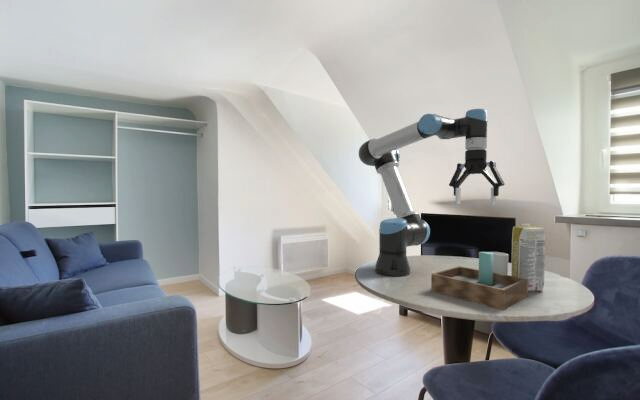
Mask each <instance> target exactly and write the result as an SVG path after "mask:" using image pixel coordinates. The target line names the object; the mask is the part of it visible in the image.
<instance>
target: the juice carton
mask: <svg viewBox="0 0 640 400" xmlns="http://www.w3.org/2000/svg"><path fill="white" fill-rule="evenodd" d="M545 230H546V229H545V228H544V227H539V226H531V224H530V223H521V226H513V227H512V235H511V236H512V237H511V268H510V269H511V271H510V273H511V275H510V276H514V277H519V278H524V279H528V292H543V291H544V286H545V270H546V269H545V266H546V265H545V261H546V231H545Z"/></svg>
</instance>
